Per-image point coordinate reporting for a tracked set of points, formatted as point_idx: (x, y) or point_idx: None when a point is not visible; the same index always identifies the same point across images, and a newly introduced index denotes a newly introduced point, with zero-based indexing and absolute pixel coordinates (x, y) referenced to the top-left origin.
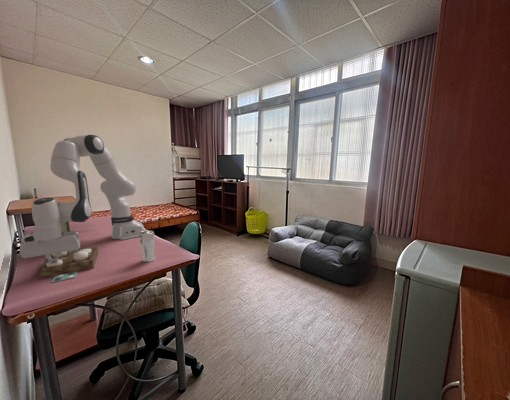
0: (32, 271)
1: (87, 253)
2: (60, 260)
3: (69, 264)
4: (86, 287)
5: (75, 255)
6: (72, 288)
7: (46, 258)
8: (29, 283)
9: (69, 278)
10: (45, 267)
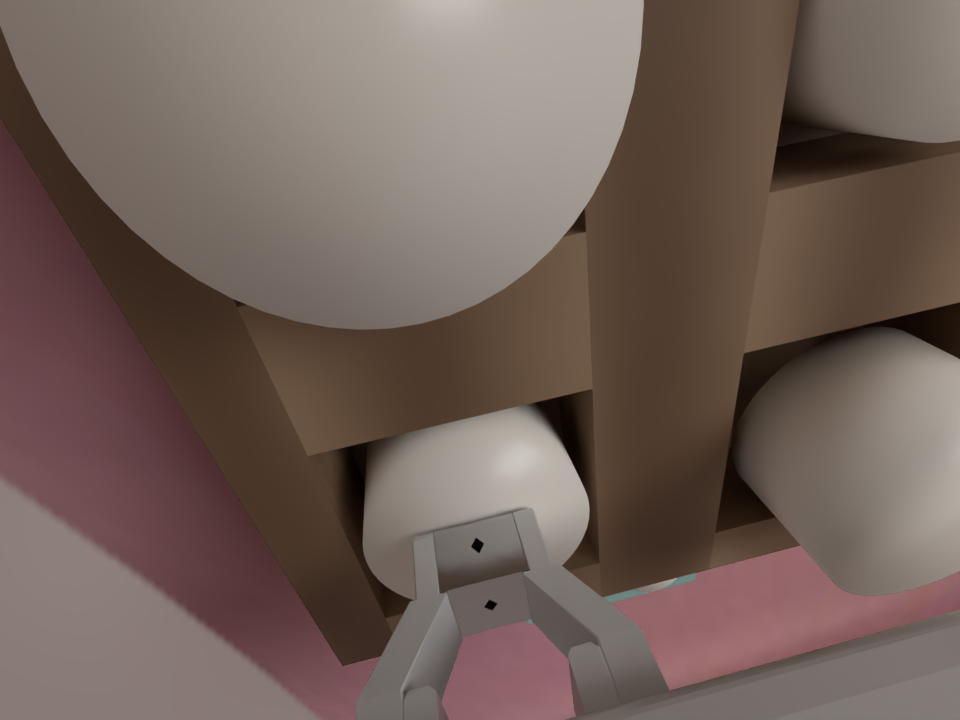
0: (47, 341)
1: None
2: (552, 486)
3: (691, 570)
4: (759, 665)
5: (850, 592)
6: (686, 670)
7: (60, 205)
8: None
9: (653, 589)
10: (360, 533)
